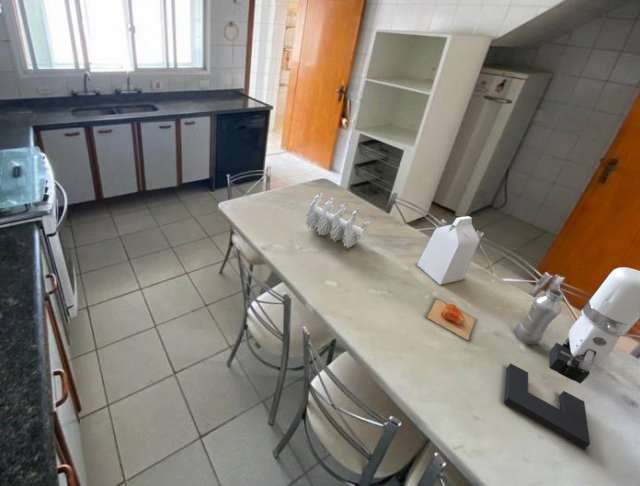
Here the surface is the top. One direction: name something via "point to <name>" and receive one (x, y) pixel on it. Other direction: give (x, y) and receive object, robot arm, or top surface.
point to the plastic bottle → (540, 316)
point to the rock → (451, 318)
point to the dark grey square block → (563, 360)
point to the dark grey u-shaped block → (547, 408)
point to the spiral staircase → (334, 222)
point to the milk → (450, 251)
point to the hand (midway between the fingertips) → (565, 366)
